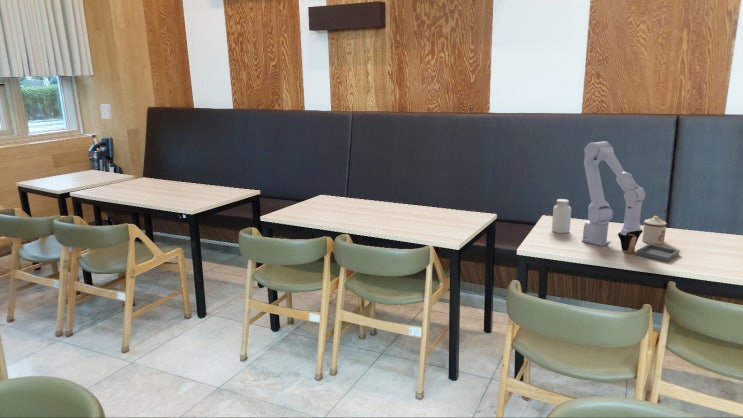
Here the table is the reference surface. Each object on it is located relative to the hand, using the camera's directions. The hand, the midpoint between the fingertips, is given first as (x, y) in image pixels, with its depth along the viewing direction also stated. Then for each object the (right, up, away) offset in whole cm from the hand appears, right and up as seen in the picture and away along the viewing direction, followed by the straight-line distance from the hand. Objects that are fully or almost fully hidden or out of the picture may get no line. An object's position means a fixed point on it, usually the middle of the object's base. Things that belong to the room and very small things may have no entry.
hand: (628, 248), depth 228 cm
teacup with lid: (+18, +2, +15) cm, 23 cm away
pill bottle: (-18, +6, +29) cm, 35 cm away
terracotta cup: (0, -2, 0) cm, 2 cm away
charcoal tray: (+10, -3, -4) cm, 11 cm away
